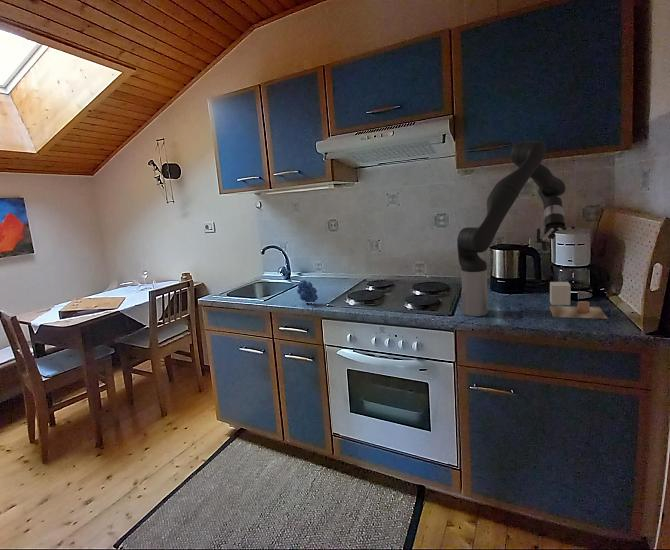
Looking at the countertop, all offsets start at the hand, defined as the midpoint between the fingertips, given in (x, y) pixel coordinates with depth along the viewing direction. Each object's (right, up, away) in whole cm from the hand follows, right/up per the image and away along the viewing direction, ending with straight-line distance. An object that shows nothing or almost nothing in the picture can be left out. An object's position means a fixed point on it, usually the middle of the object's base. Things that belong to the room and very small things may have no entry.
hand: (557, 249), depth 156 cm
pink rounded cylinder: (-2, -23, -19) cm, 31 cm away
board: (-4, -24, -18) cm, 31 cm away
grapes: (-103, -25, +31) cm, 111 cm away
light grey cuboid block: (-3, -22, -7) cm, 23 cm away
